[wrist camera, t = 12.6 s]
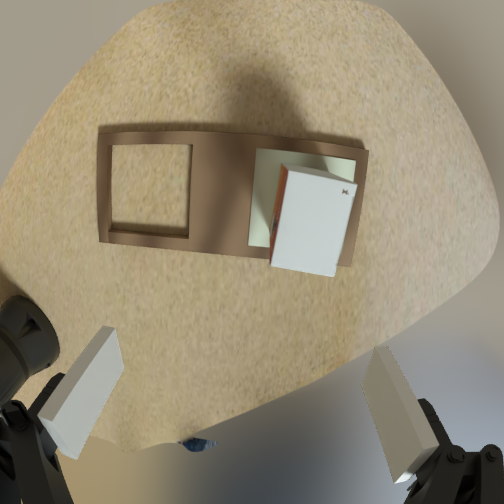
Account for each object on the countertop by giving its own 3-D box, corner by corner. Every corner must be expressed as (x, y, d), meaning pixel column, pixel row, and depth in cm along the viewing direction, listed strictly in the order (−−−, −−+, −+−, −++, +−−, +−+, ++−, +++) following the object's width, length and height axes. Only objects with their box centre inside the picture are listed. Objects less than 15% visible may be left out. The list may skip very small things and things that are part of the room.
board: (103, 239, 36) (98, 242, 35) (103, 134, 32) (97, 133, 30) (348, 263, 36) (350, 267, 34) (365, 150, 31) (369, 150, 30)
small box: (281, 161, 31) (287, 165, 21) (331, 172, 31) (359, 182, 21) (267, 232, 33) (267, 267, 23) (315, 241, 33) (334, 279, 23)
